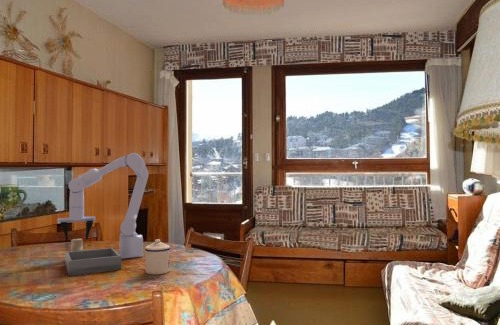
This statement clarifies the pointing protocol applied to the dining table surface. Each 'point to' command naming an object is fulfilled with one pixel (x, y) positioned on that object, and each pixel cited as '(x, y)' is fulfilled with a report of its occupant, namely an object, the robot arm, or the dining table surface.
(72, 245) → the peg
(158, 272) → the teacup with lid
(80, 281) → the dining table surface
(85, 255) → the box
